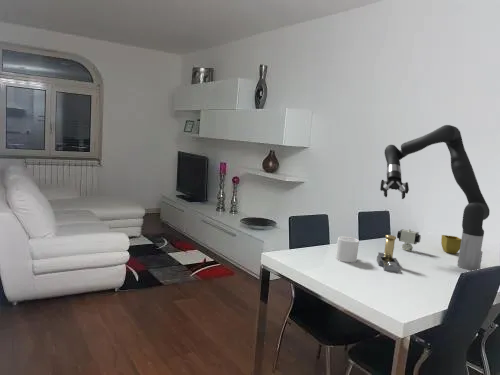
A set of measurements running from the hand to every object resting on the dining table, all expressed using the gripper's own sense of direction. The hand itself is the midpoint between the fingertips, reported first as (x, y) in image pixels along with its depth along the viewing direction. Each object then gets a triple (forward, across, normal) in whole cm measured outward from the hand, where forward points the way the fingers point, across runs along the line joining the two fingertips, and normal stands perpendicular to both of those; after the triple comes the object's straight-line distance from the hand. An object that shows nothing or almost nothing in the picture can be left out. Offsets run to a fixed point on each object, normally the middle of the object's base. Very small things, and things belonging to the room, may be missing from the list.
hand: (394, 197), depth 206 cm
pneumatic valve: (+12, +13, +32) cm, 36 cm away
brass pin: (+37, -3, +6) cm, 38 cm away
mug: (+38, -22, +6) cm, 44 cm away
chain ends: (+37, -3, +6) cm, 38 cm away
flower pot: (+6, +38, +38) cm, 54 cm away
